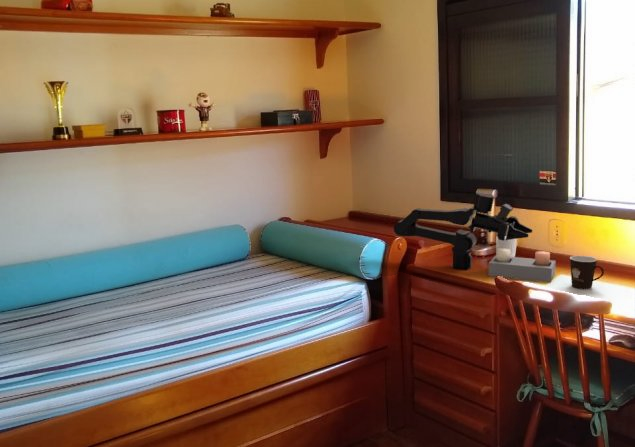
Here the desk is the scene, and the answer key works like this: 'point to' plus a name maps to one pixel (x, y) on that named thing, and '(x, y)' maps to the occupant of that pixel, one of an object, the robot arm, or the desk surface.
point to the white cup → (507, 245)
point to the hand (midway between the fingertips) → (530, 233)
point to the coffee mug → (583, 271)
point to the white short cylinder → (503, 255)
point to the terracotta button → (542, 258)
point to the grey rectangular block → (522, 269)
